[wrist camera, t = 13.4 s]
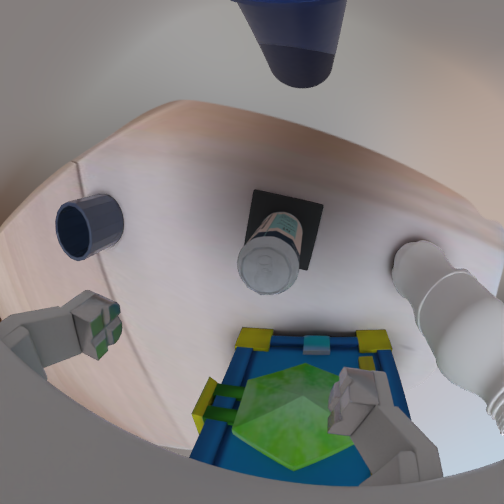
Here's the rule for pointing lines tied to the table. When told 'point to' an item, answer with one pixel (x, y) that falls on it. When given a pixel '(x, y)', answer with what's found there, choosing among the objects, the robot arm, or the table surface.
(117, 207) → the cup
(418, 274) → the water bottle
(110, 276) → the table surface
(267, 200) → the mat
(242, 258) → the supplement bottle
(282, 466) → the decorative book
